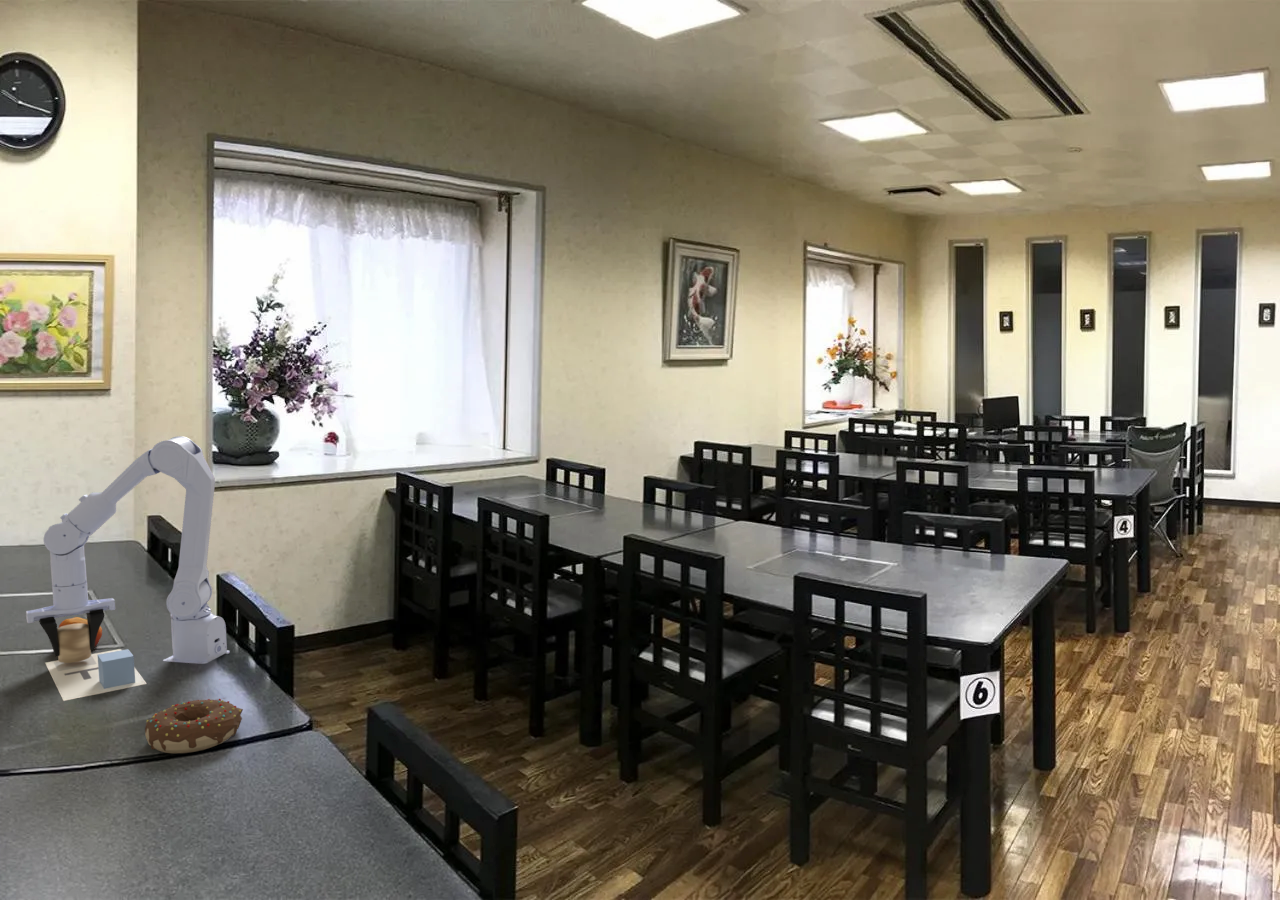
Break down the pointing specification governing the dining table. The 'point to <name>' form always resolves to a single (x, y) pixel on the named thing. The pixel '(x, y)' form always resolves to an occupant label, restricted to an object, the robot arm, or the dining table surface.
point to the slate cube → (116, 668)
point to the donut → (192, 726)
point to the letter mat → (83, 678)
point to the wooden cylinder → (73, 643)
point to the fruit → (84, 621)
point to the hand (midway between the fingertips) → (74, 651)
